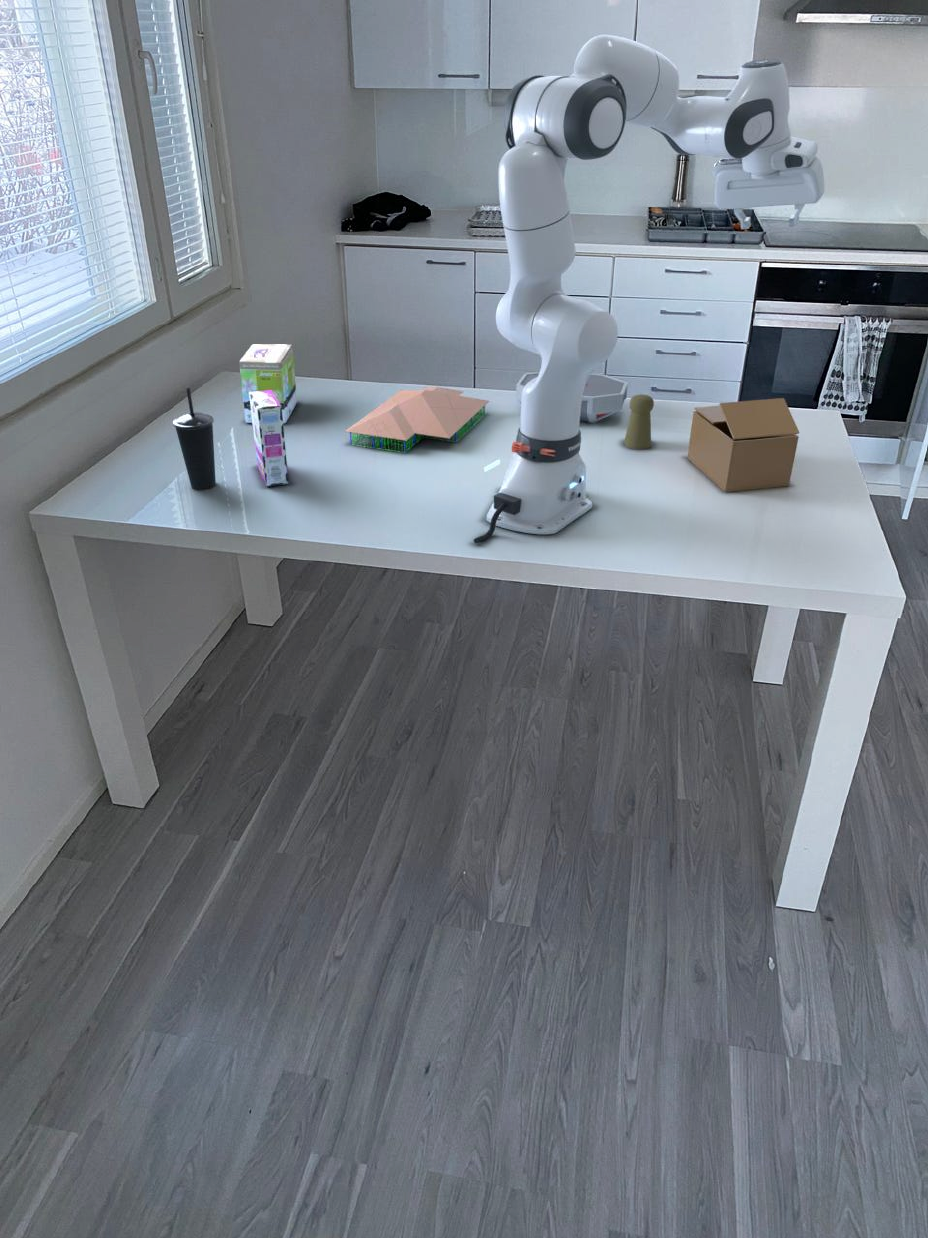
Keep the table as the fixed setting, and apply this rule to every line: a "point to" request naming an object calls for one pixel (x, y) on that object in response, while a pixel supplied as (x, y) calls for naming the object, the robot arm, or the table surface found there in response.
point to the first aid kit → (592, 395)
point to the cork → (639, 422)
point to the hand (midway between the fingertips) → (769, 226)
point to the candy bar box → (269, 437)
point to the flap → (758, 418)
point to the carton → (739, 454)
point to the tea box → (269, 376)
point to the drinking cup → (197, 446)
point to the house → (419, 416)
